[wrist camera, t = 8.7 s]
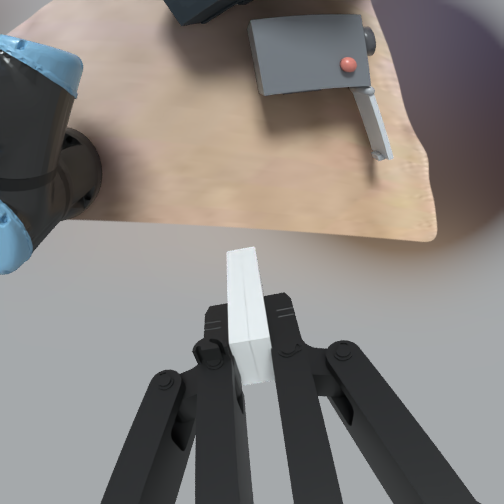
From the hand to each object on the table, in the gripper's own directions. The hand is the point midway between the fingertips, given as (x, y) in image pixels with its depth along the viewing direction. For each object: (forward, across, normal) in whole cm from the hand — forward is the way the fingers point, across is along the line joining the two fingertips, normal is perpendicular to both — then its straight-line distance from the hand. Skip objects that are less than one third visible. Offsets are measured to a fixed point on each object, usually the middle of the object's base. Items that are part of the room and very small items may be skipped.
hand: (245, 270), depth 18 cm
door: (+32, +20, +1) cm, 38 cm away
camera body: (+32, +13, +12) cm, 37 cm away
